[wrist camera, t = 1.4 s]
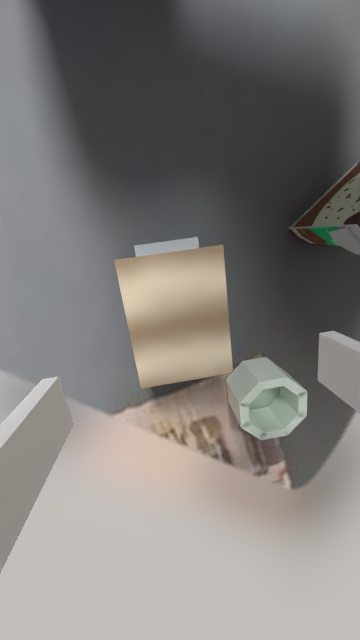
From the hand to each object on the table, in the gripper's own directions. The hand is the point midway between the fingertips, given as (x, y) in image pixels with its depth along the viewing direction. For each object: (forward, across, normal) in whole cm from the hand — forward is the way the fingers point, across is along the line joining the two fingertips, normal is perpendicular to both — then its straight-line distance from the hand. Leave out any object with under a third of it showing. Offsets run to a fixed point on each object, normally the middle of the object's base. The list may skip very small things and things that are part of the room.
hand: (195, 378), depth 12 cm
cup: (+16, +9, -12) cm, 21 cm away
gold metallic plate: (+12, 0, 0) cm, 12 cm away
